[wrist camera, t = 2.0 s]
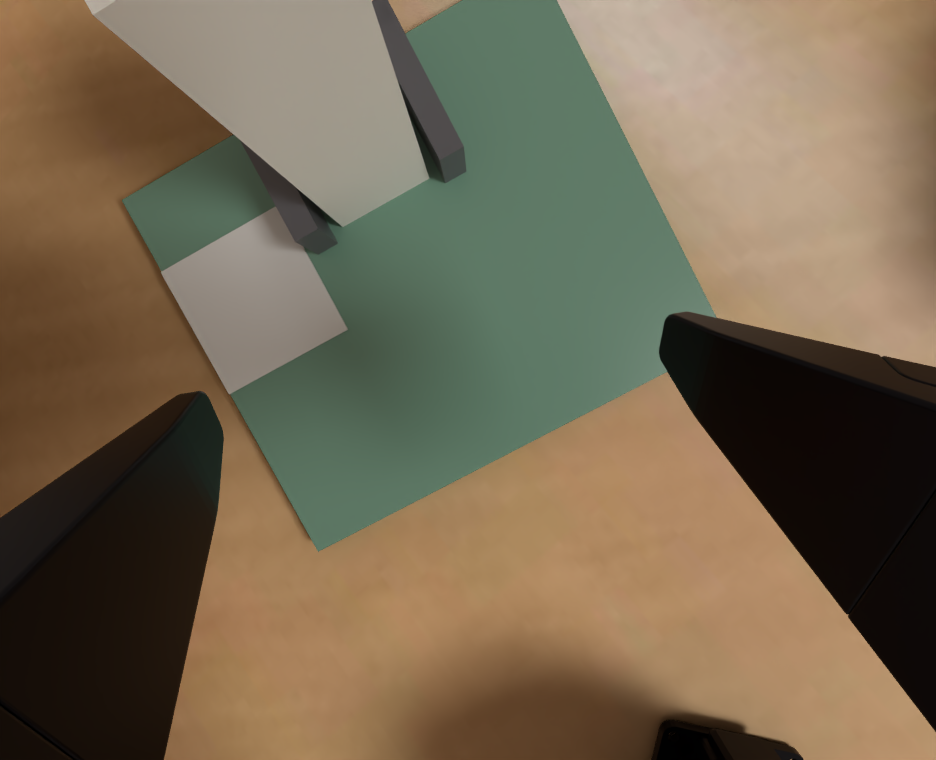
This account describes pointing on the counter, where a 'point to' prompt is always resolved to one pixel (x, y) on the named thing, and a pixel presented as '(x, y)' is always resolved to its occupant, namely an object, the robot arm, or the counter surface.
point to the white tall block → (288, 88)
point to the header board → (430, 273)
